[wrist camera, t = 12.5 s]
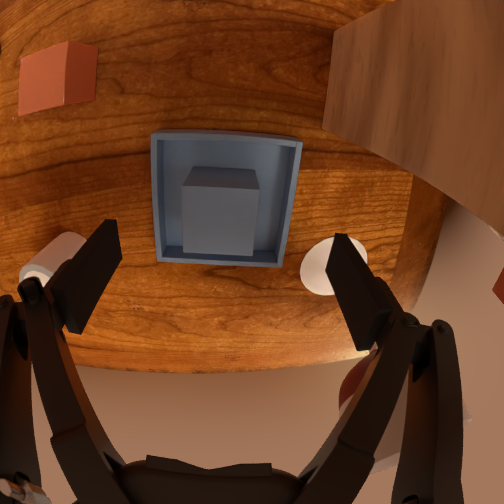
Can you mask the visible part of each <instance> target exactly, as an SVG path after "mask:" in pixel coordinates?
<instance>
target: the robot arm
mask: <svg viewBox="0 0 504 504" xmlns="http://www.w3.org/2000/svg"><path fill="white" fill-rule="evenodd" d="M121 260H122V253H121V247H120V241H119V235H118V228H117V221H116V219H105V220H104V221H103V223H102V224H101V225H100V226H99V227H98V228H97V229H96V230H95V231H94V233H93V234H92V235H91V236H90V237H89V238H88V240H87V241H86V242H85V243H84V244H83V246H82V247H81V248H80V249H79V250H78V252H77V253H76V254H75V255H74V257H73V258H72V259H67V260H66V261H65V262H63V263H62V264H61V265H60V266H59V267H58V269H57V271H55V273H54V274H53V276H51V278H50V279H49V280H48V282H47V283H46V284H45V286H44V287H43V286H42V283H41V281H40V279H39V278H38V277H36V276H31V277H28V278H26V279H24V280H23V281H22V282H20V284H19V285H18V288H17V291H18V293H19V295H20V297H21V299H22V301H23V302H14V299H13V297H12V296H11V295H9V294H8V295H3V296H1V297H0V504H52V502H51V500H50V499H49V498H48V497H47V496H46V494H45V492H44V491H43V490H42V488H41V487H42V486H41V474H40V469H39V462H38V457H37V450H36V443H35V437H34V428H33V416H32V400H31V364H33V369H34V373H35V377H36V381H37V385H38V389H39V393H40V396H41V400H42V403H43V406H44V410H45V413H46V416H47V419H48V421H49V424H50V427H51V430H52V433H53V436H52V437H51V438H50V440H51V441H50V442H51V445H52V448H53V451H54V453H55V455H56V458H57V460H58V462H59V464H60V466H61V469H62V471H63V473H64V475H65V477H66V479H67V481H68V483H69V485H70V486H71V489H72V490H73V492H74V494H75V496H76V498H77V499H78V500H76V501H75V502H74V503H72V504H352V502H353V501H354V499H355V498H356V496H357V494H358V493H359V491H360V489H361V488H362V486H363V484H364V483H365V481H366V479H367V477H368V475H369V474H370V472H371V470H372V468H373V466H374V463H375V458H374V453H375V451H376V449H377V447H378V445H379V443H380V440H381V438H382V436H383V434H384V432H385V430H386V427H387V425H388V423H389V421H390V418H391V416H392V413H393V411H394V408H395V406H396V403H397V401H398V398H399V395H400V393H401V390H402V387H403V384H404V381H405V378H406V375H407V372H408V391H407V405H406V415H405V424H404V432H403V439H402V446H401V452H400V457H399V463H398V468H397V472H396V477H395V482H394V486H393V491H392V498H391V504H464V498H463V491H462V484H461V469H462V455H463V404H462V390H461V379H460V371H459V364H458V356H457V349H456V344H455V338H454V333H453V330H452V328H451V326H450V325H449V324H448V323H447V322H445V321H443V320H439V319H438V320H435V321H434V322H433V323H432V325H431V326H426V325H421V324H420V323H419V321H418V319H417V318H416V317H415V316H413V315H412V314H410V313H407V312H404V311H403V309H402V308H401V306H400V304H399V303H398V301H397V299H396V298H395V296H393V293H392V291H390V288H389V286H388V285H387V283H386V282H385V281H384V280H382V279H381V278H380V277H374V275H373V274H372V272H371V270H370V269H369V267H368V266H367V264H366V262H365V261H364V259H363V258H362V256H361V255H360V253H359V252H358V250H357V249H356V247H355V246H354V244H353V243H352V241H351V240H350V238H349V237H348V235H347V234H342V233H335V236H334V240H333V243H332V247H331V251H330V254H329V258H328V261H327V265H326V268H325V272H326V274H327V277H328V279H329V281H330V284H331V286H332V288H333V291H334V293H335V296H336V298H337V301H338V303H339V305H340V308H341V310H342V313H343V316H344V318H345V321H346V323H347V326H348V328H349V331H350V334H351V336H352V339H353V341H354V344H355V347H356V350H357V351H363V350H371V348H372V346H373V345H374V343H375V342H376V344H377V346H378V349H377V350H376V352H375V353H374V355H373V357H372V358H371V360H370V361H369V362H370V364H369V366H368V368H367V370H366V372H365V374H364V376H363V378H362V380H361V382H360V384H359V386H358V388H357V390H356V391H355V393H354V395H353V397H352V399H351V400H350V402H349V404H348V406H347V407H346V409H345V411H344V412H343V414H342V416H341V417H340V419H339V421H338V422H337V424H336V426H335V427H334V429H333V430H332V432H331V433H330V435H329V437H328V438H327V439H326V441H325V443H324V444H323V445H322V447H321V448H320V450H319V451H318V453H317V454H316V456H315V457H314V458H313V460H312V461H311V462H310V463H309V464H308V465H307V466H306V467H305V469H304V470H303V471H302V472H301V473H300V475H299V476H298V477H296V476H294V475H292V474H290V473H288V472H285V471H282V470H279V469H274V468H272V466H271V463H260V464H237V465H232V466H227V467H222V468H216V469H209V470H208V469H203V468H200V467H197V466H194V465H191V464H188V463H185V462H182V461H179V460H177V459H169V458H163V457H157V456H151V455H147V457H146V460H140V461H135V462H131V463H129V464H126V463H125V462H124V460H123V459H122V458H121V456H120V455H119V454H118V452H117V451H116V450H115V448H114V447H113V445H112V444H111V442H110V440H109V438H108V437H107V435H106V433H105V431H104V429H103V427H102V425H101V423H100V421H99V420H98V418H97V416H96V414H95V411H94V409H93V407H92V405H91V403H90V401H89V399H88V396H87V394H86V392H85V390H84V387H83V385H82V382H81V380H80V378H79V375H78V373H77V370H76V367H75V365H74V362H73V359H72V356H71V353H70V351H69V348H68V345H67V341H66V338H65V335H64V333H63V331H62V328H63V326H64V324H65V325H66V327H67V329H68V331H69V332H71V333H75V334H80V335H81V334H82V332H83V330H84V328H85V326H86V324H87V322H88V320H89V318H90V316H91V314H92V312H93V310H94V308H95V306H96V304H97V302H98V300H99V299H100V297H101V295H102V293H103V291H104V289H105V288H106V286H107V284H108V282H109V280H110V279H111V277H112V275H113V273H114V272H115V270H116V268H117V267H118V265H119V263H120V261H121ZM408 369H409V370H408Z"/></svg>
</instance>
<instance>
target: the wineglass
mask: <svg viewBox="0 0 504 504" xmlns="http://www.w3.org/2000/svg"><path fill="white" fill-rule="evenodd" d="M349 238H350V240H351V241H352V243H353V244H354V246H355V247H356V249H357V250H358V252H359V253H360V255H361V256H362V258H363V259H364V261H365V262H366V264H367V253H366V250H365V248H364V246H363V245H362V244H361V243H360V242H359V241H358V240H356V239H354V238H351V237H349ZM333 240H334V237H331V238H328V239H325V240H323V241H321V242H320V243H318V244H316V245H315V246H314V247H313V248H312V249H311V250H310V251H309V252H308V253H307V254H306V256H305V257H304V259H303V261H302V263H301V268H300V276H301V281H302V283H303V284H304V286H305V287H306V288H307V289H308V290H310V291H311V292H313V293H316V294H320V295H334V294H335V293H334V291H333V288H332V286H331V284H330V281H329V279H328V277H327V274H326V272H325V268H326V265H327V261H328V258H329V254H330V251H331V247H332V243H333ZM377 349H378V347H377V344H376V342H375V343H374V345H373V346H372V348H371V350H369V353H370V354H369V355H368V356H366V357H365V358H364V359H362V360H361V361H360V362H358V364H356V366H355V367H353V369H351V370H350V372H349V373H348V374H347V376H346V378H345V379H344V380H343V382H342V385H341V388H340V393H339V419H340V417H341V416H342V414H343V412H344V411H345V409H346V407H347V406H348V404H349V402H350V400H351V399H352V397H353V395H354V393H355V391H356V390H357V388H358V386H359V384H360V382H361V380H362V378H363V376H364V374H365V372H366V370H367V368H368V366H369V364H370V362H369V361H370V360H371V358H372V357H373V355H374V353H375V352H376V350H377ZM408 370H409V369H408ZM407 391H408V372H407V375H406V378H405V381H404V384H403V387H402V390H401V393H400V395H399V398H398V401H397V403H396V406H395V408H394V411H393V413H392V416H391V418H390V421H389V423H388V425H387V427H386V430H385V432H384V434H383V436H382V438H381V440H380V443H379V445H378V447H377V449H376V451H375V453H374V458H375V463H374V466H373V468H372V470H371V472H370V474H372V473H376V472H379V471H382V470H385V469H388V468H391V467H393V466H396V465H398V463H399V457H400V452H401V446H402V439H403V432H404V424H405V415H406V405H407ZM462 404H463V428H464V427H465V426H466V425H467V424H468V423H469V422H470V421H471V420H472V417H471V415H470V413H469V411H468V409H467V407H466V405H465V403H464V401H463V399H462Z"/></svg>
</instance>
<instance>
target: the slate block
mask: <svg viewBox="0 0 504 504" xmlns="http://www.w3.org/2000/svg"><path fill="white" fill-rule="evenodd" d="M259 196H260V188H259V184H258V180H257V176H256V172H255V170H250V169H235V168H218V167H192V169H191V171H190V172H189V174H188V176H187V178H186V179H185V181H184V183H183V185H182V237H183V252H185V253H204V254H224V255H244V256H253V248H254V240H255V231H256V222H257V214H258V205H259Z"/></svg>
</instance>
